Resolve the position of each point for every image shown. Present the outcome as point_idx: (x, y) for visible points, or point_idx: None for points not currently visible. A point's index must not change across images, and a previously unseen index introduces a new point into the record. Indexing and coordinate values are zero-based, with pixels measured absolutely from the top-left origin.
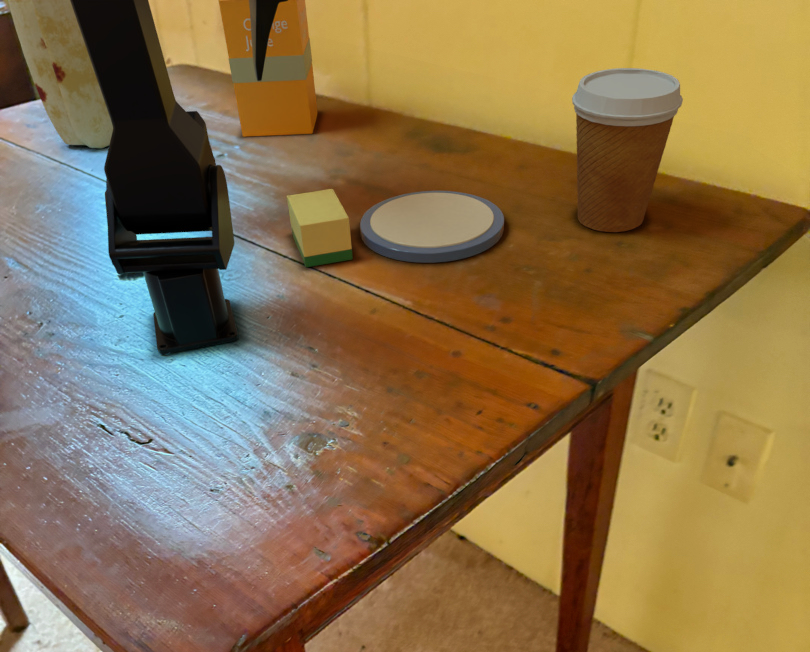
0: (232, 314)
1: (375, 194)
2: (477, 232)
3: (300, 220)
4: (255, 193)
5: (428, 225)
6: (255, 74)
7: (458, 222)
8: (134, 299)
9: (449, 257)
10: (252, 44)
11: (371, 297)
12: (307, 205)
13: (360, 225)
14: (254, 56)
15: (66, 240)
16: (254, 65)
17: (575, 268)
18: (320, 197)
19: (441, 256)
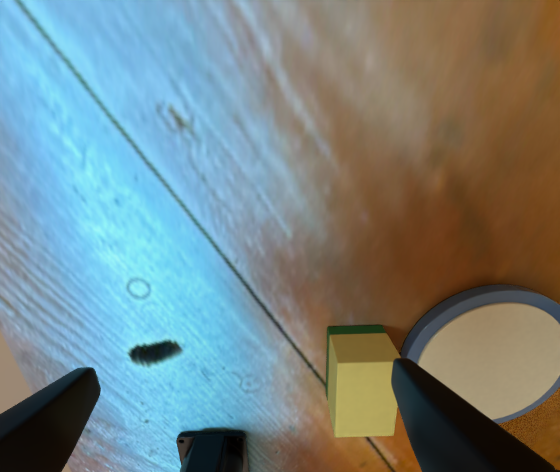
0: (246, 456)
1: (466, 243)
2: (514, 410)
3: (338, 428)
4: (302, 177)
5: (477, 383)
6: (398, 367)
7: (510, 386)
8: (154, 399)
9: None
10: (462, 460)
11: (368, 447)
12: (356, 396)
13: (408, 355)
14: (429, 460)
15: (34, 247)
16: (410, 406)
17: (553, 452)
18: (379, 382)
19: None
